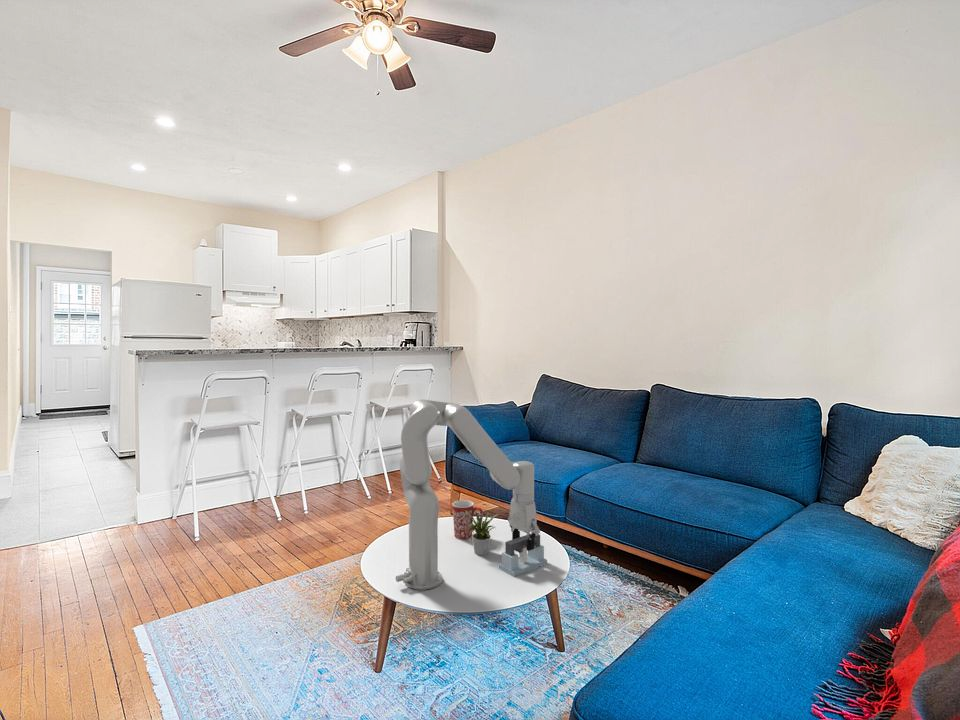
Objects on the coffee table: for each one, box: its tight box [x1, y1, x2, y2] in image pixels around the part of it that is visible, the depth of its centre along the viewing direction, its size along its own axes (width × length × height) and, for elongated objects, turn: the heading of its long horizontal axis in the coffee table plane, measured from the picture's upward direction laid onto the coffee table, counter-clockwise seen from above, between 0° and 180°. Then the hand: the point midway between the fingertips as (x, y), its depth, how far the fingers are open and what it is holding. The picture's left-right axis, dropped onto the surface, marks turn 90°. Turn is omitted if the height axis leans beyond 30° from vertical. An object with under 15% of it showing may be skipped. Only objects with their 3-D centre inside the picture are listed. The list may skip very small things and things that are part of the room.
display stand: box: [498, 544, 548, 577], centre depth 178 cm, size 16×8×7 cm, turn 127°
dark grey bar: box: [504, 532, 541, 556], centre depth 178 cm, size 14×3×4 cm, turn 127°
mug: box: [451, 499, 484, 540], centre depth 205 cm, size 13×9×14 cm
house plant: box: [463, 510, 499, 556], centre depth 189 cm, size 14×14×16 cm
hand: (523, 545), depth 178 cm, fingers open, 7 cm apart
